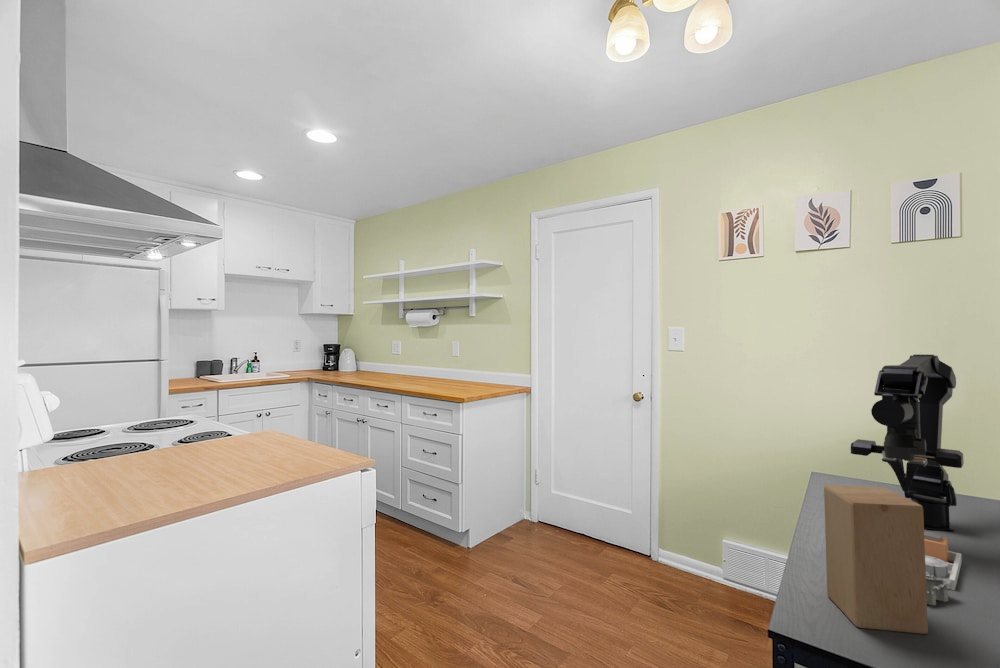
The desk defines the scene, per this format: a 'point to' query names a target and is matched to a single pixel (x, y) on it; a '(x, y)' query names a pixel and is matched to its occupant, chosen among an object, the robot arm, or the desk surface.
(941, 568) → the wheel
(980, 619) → the desk surface
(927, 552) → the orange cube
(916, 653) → the desk surface
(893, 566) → the wooden block
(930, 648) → the desk surface
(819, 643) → the desk surface
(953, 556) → the chassis
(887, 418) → the robot arm
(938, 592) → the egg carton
